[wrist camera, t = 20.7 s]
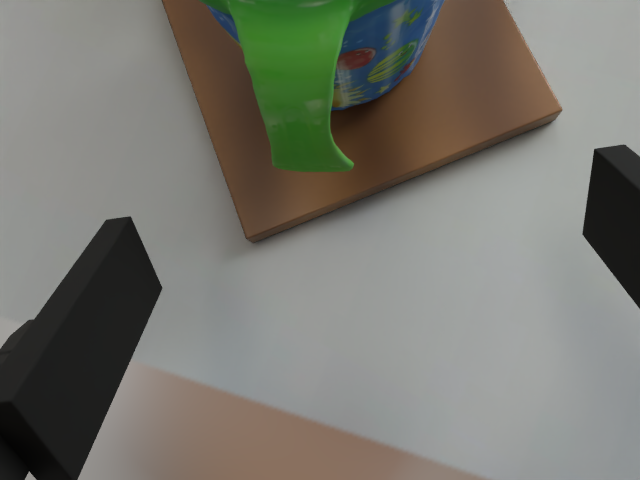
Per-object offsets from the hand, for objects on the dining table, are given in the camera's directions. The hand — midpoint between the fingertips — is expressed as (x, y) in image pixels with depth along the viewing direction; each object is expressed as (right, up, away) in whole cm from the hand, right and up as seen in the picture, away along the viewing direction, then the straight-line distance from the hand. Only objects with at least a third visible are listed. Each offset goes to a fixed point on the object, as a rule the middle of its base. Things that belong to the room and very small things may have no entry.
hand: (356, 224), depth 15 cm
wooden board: (0, +8, +9) cm, 12 cm away
